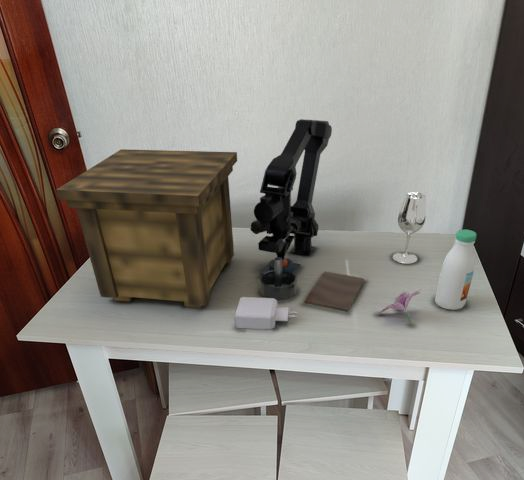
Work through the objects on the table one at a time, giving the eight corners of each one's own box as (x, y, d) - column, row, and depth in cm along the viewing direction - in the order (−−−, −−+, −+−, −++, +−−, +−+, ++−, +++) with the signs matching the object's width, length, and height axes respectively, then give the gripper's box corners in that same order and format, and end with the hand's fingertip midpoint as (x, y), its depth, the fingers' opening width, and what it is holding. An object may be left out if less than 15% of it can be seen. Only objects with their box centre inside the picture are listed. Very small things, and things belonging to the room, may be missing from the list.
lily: (424, 312, 125) (413, 278, 122) (438, 320, 113) (427, 283, 111) (380, 327, 126) (369, 294, 124) (390, 337, 115) (378, 301, 113)
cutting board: (324, 274, 141) (325, 271, 140) (364, 282, 136) (364, 278, 136) (304, 304, 128) (304, 300, 127) (346, 313, 124) (347, 309, 123)
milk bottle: (449, 313, 122) (467, 241, 110) (428, 300, 127) (443, 230, 115) (471, 305, 125) (491, 234, 112) (449, 292, 130) (466, 223, 118)
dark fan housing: (269, 281, 139) (269, 267, 136) (301, 287, 135) (302, 273, 132) (254, 297, 131) (254, 283, 129) (288, 304, 128) (288, 290, 125)
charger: (295, 332, 117) (236, 329, 119) (297, 312, 125) (242, 310, 126) (295, 316, 114) (235, 314, 116) (298, 297, 122) (241, 295, 124)
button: (277, 262, 144) (277, 257, 143) (289, 264, 142) (289, 259, 141) (272, 268, 141) (272, 263, 140) (284, 270, 140) (284, 265, 139)
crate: (212, 318, 124) (198, 195, 104) (91, 307, 130) (56, 189, 110) (243, 258, 151) (236, 152, 131) (141, 252, 157) (120, 149, 137)
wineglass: (390, 262, 146) (399, 198, 134) (394, 251, 151) (403, 189, 139) (416, 265, 143) (427, 201, 131) (419, 255, 149) (431, 192, 137)
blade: (267, 284, 136) (266, 253, 130) (290, 284, 135) (290, 253, 129) (266, 296, 131) (265, 264, 125) (289, 296, 130) (290, 264, 124)
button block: (273, 262, 148) (273, 253, 146) (300, 267, 145) (300, 258, 143) (260, 276, 141) (260, 267, 139) (288, 282, 138) (288, 273, 136)
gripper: (267, 196, 141) (268, 244, 150) (239, 219, 127) (243, 270, 137) (302, 200, 137) (301, 249, 146) (277, 224, 123) (278, 277, 133)
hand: (281, 261), depth 141 cm, fingers closed, pressing on button
